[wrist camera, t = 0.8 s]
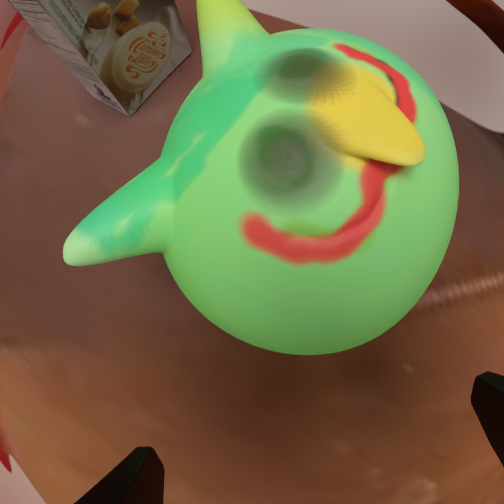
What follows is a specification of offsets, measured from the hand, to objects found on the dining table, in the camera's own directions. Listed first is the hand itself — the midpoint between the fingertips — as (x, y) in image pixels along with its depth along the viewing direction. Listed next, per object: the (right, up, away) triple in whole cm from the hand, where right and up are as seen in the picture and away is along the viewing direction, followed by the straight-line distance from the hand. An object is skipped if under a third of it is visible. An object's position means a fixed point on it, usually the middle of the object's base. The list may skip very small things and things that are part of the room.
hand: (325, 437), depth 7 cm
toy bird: (+1, +8, +17) cm, 19 cm away
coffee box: (-13, +22, +20) cm, 32 cm away
